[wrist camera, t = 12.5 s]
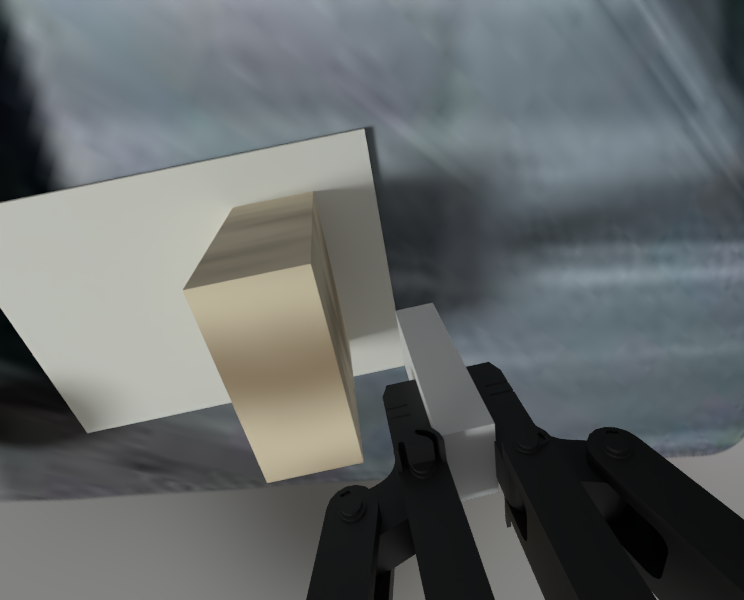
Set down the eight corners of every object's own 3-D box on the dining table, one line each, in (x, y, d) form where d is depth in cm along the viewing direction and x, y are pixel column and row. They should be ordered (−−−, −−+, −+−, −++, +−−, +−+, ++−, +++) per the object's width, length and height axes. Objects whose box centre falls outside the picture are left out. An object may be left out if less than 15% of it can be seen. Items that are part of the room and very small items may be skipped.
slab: (349, 340, 25) (363, 462, 18) (282, 354, 25) (267, 483, 17) (312, 191, 21) (310, 263, 13) (232, 207, 21) (182, 290, 13)
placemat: (363, 127, 20) (364, 128, 20) (404, 361, 27) (405, 365, 27) (-57, 213, 20) (-64, 216, 20) (90, 428, 27) (87, 433, 26)
